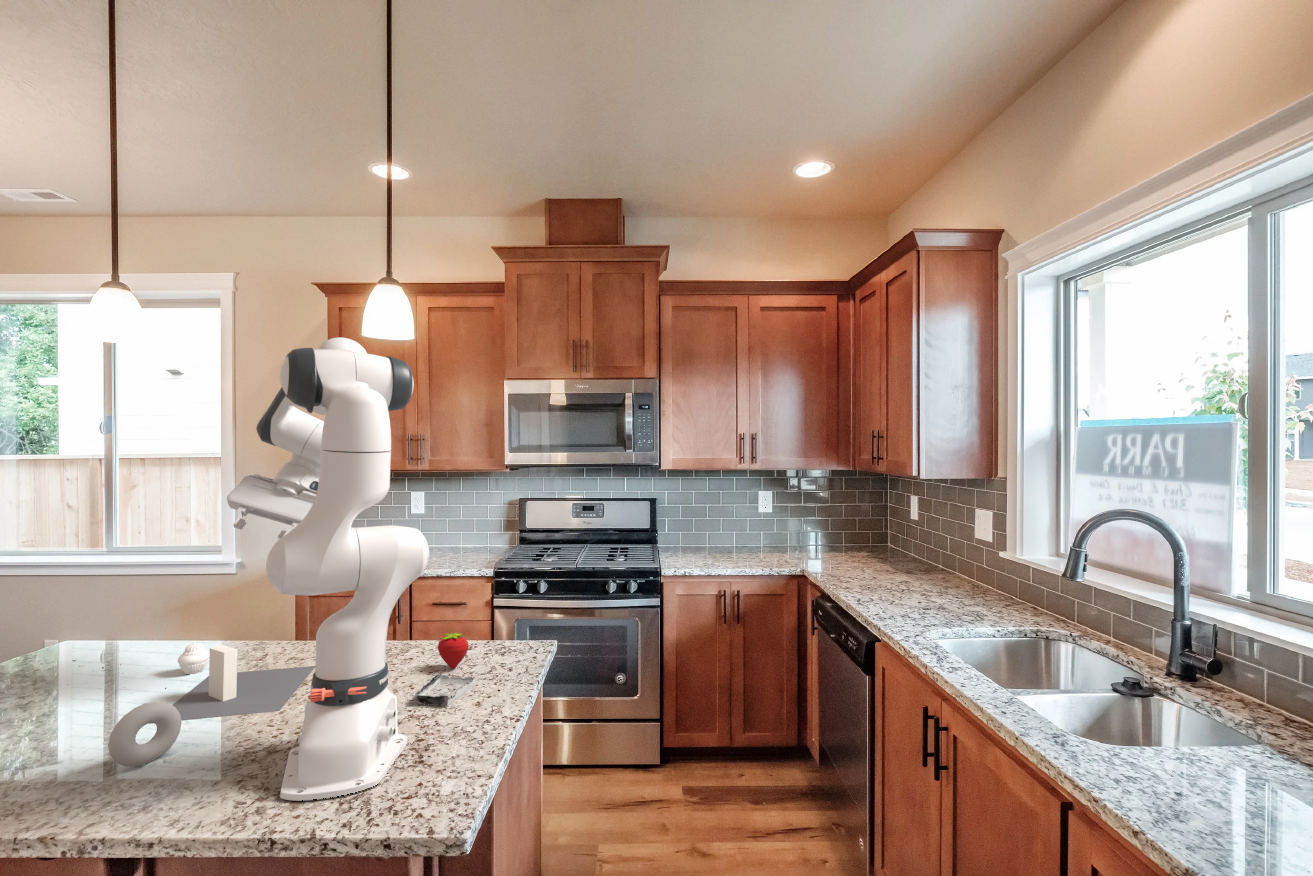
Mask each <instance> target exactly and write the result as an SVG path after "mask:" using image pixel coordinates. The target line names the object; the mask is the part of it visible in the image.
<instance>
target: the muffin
mask: <svg viewBox="0 0 1313 876" xmlns="http://www.w3.org/2000/svg"><path fill="white" fill-rule="evenodd" d="M209 659H210V651H208V650H207V649H206V648H205V645H204V644H202V643H200V642H194V643H191V644H188V645H187V646H186V647H185V648H184V651H183V652H182V654H180V656H178V658H177V663H178V666H179V668H180V670H181V671H182V672H183V673H184V674H185V675H186V674H193V675H196V674H199V673H202V672H203V671H204V669H205V668H206V666H207V664H208V662H209Z"/></svg>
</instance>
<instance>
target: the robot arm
mask: <svg viewBox="0 0 1313 876" xmlns="http://www.w3.org/2000/svg"><path fill="white" fill-rule="evenodd" d="M279 379H280V384H281V388H280V389H278V392H277V393H276V395H275V397H274V398H273V400H272V402H271V403H270V405H269V406H268V407H267V409H265V410H264V411H263V413H262V414H261V415H260V417H259V419H258V421H257V424H256V428H255V430H256V433H257V434H258V437H259V440H261V441H262V442H263V443H265V444H269V445H272V446H274V447H278V448H280V449H283V450H285V451H287V452H289V453H292V455H291V457H290V460H289V461H288V462H286V463H285V464H284V465H283V466H282V467H281V469H280V470H279V471H278V473H276V475H275V476H274V478H271V477H265V476H262V475H260V474H257V473H256V474H255V473H254V474H252V475H251V474H250V475H246V476H244V477H243V479H241V481H240V483H238V485H236V486H235V487H234V488H233V489H232V490H231V491H230V492H229V493H228V494H227V496H226V500H227V501H226V502H227V504H228V506H229V508H230V509H233V510H236V511H237V519H236V520H235V521H234V522H233V528H235V529H238V530H243V529H244V527H245V526H246V525H247V523H246V519H244V518H243V517H247V516H248V514H249V515H253V516H256V517H259V518H260V517H261V518H265V519H267V520H271V521H275V522H279V523H281V524H285V525H289V526H292V527H290V528H289V529H286V530H283V529H282V530H281V531H280V533H279V534H278V535H277V541H276V542H275V543H274V545H273V546H271V549H270V550H269V552H268V555H267V558H266V563H265V571H266V576H267V579H268V581H269V583H270V584H271V586H272V587H273V589H275V590H276V591H277V592H278V593H280V595H281V594H282V595H293V596H318V595H327V594H334V593H342V592H352V591H354V595H353V597H352V598H351V599H350V601H349V602H348V603H347V604H346V605H345V606H344V607H343V608H341V609H339V610H338V611H336V612H334V613H332V614H331V615H329V616H328V617H327V618H326V619H324V621H323V622H322V623H321V624H320V625H319V627H318V629H317V631H316V634H315V665H314V666H315V668H314V670H315V671H314V673H312V679H311V683H310V696H309V701H308V702H307V703H306V704H305V705H304V719H303V723H302V728H301V729H302V730H301V734H300V735H298V736H297V737H296V743H297V746H295V747H294V748H292V749H290V751H289V753H288V757H287V760H286V765H285V768H284V769H285V770H284V774H283V779H282V784H281V786H280V793H279V798H280V799H282V800H286V801H301V802H302V800H303V801H314V800H313V799H317V800H325V798H326V799H332V797H333V798H338V797H337V796H339V797H342V796H341V795H344V796H348V795H347V794H349V795H351V794H350V793H353V794H356V793H355V792H357V793H359V792H358V791H361V790H364V789H367V788H370V787H372V788H374V787H376V786H375V785H377V784H378V783H379V782H380V780H381V779H382V778H383V779H384V777H385V776H386V775H387V773H388V772H389V770H390V769H391V768H392V766H393V765H392V764H395V762H396V760H397V759H398V757H399V756H400V755H401V753H402V752H403V750H404V749H405V747H406V746H407V745H406V744H408V743H409V742H408V741H409V740H408V736H407V735H405V734H402V733H398V732H399V731H398V730H399V729H398V702H397V699H398V697H397V695H395V694H394V693H392V692H391V690H390V689H389V687H388V685H389V675H390V673H389V664H388V663H387V662H386V659H387V658H386V655H387V653H386V652H387V651H386V650H387V640H388V639H387V638H388V628H389V622H390V618H391V616H392V612H393V609H394V607H395V606H396V604H397V602H398V600H399V599H400V597H401V596H402V595H403V593H404V592H405V591H406V590H407V588H408V587H409V586H410V585H411V584H412V583H413V582H414V581H416V580H417V579H418V578H420V576H421V575H423V573H424V572H425V570H426V568H427V566H428V563H429V559H430V547H429V543H428V540H427V538H426V537H425V535H424V534H423V533H422V532H421V531H420V529H418V528H416V527H411V526H410V527H409V526H403V525H392V524H390V525H389V524H388V525H377V526H375V525H374V526H362V527H361V526H358V527H353V526H352V524H353V523H354V520H355V519H356V518H357V517H358V515H359V514H360V513H362V512H364V511H365V510H368V509H369V508H371V507H373V506H376V505H377V504H379V503H380V502H381V501H383V500H384V498H385V497H386V496H387V494H388V493H389V491H390V488H391V466H392V465H391V458H392V429H391V421H390V419H391V418H390V414H389V413H390V412H393V411H398V410H402V409H404V408H405V407H406V406H407V405H408V404H410V401H411V398H412V395H413V391H414V387H415V386H414V385H415V384H414V383H415V382H414V378H413V372H412V368H411V367H410V365H408V363H407V362H406V361H405V360H403V359H400V358H397V357H394V356H390V355H387V356H382V355H377V354H371V353H367V351H366V349H365V347H363V345H361V344H360V343H359V342H357V341H356V340H353V339H352V338H349V337H348V338H347V337H340V336H338V337H332V338H329V339H326V340H325V341H323V342H322V343H321V344H320V345H319V347H318V348H317V349H316V348H315V349H313V347H301V348H294V349H292V350H291V351H289V353H287V354H286V357H285V359H284V360H283V363H282V365H281V368H280V371H279ZM301 409H304V410H306V412H305V411H302V410H301ZM307 412H308V413H307ZM309 413H310V414H309ZM312 413H315V414H318V415H321V416H324V418H323V419H319V418H318V417H315V416H313V415H311V414H312ZM403 748H404V749H403ZM396 758H397V759H396ZM395 759H396V760H395ZM394 761H395V762H394ZM391 765H392V766H391ZM389 768H390V769H389ZM388 769H389V770H388ZM387 771H388V772H387ZM385 774H386V775H385ZM384 775H385V776H384ZM383 779H382V780H383ZM382 780H381V781H382ZM380 783H381V782H380ZM380 783H379V784H380ZM379 784H378V785H379ZM378 785H377V786H378ZM373 786H374V787H373ZM370 789H371V788H370ZM367 790H368V789H367ZM364 791H365V790H364ZM361 792H362V791H361ZM330 797H331V798H330ZM323 798H324V799H323Z"/></svg>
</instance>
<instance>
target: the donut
mask: <svg viewBox="0 0 1313 876" xmlns="http://www.w3.org/2000/svg"><path fill="white" fill-rule="evenodd" d="M172 705H173V704H170V703H169V702H165V701H151V702H145V703H143V704H140V705H139V706H136V707H134V708H133V709H131V710H130V711H129V712H127V713H125V715H123V716H122V717H121V718H120V719H119V721H118V722H117V723H116V724H115V725H114V727H113V730H112V731H111V733H110V735H109V738H108V739H109V740H108V744H107V747H108V748H107V749H108V753H109V756H110V757H111V758H112V759H113V761H114V762H115V763H117V764H118V765H120V766H123V767H130V768H131V767H132V768H135V767H136V768H137V767H141V766H144V765H145V766H146V765H148V764H149V763H151V762H154V761H155V760H158V759H159V758H161V757H162V756H163V755H164V754H166V753H167V752H168V751H169V750H170V749H171V748H172V746H173V745H174V744H175V743H176V741H177V740H178V737H179V735H180V732H181V728H182V724H183V723H182V722H183V721H181V716H180V713H179V712H178V710H177V709H176V707H174V706H172ZM149 723H151V724H154V725H155V726H156V731H155V734H154V735H153V736H152V738H151V739H149V740H148V741H146V742H145V743H138V742H137V741H136V737H137V735H138V732H139V731H140V730H141V729H142V728H143V727H144V726H145V725H148V724H149Z"/></svg>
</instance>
